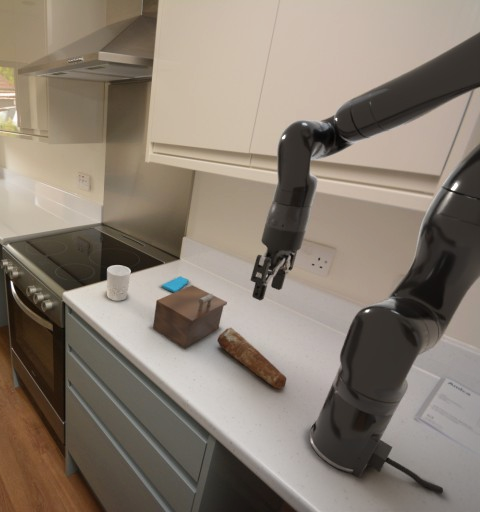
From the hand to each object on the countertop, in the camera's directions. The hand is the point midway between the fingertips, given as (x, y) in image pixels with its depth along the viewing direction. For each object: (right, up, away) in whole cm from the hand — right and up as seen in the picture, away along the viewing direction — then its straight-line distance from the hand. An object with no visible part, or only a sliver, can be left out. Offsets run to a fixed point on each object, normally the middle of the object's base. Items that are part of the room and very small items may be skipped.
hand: (267, 293), depth 76 cm
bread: (+2, -20, +12) cm, 23 cm away
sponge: (-8, -3, +50) cm, 51 cm away
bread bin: (-12, -13, +25) cm, 31 cm away
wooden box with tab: (-11, -5, +22) cm, 25 cm away
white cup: (-31, -6, +41) cm, 52 cm away
